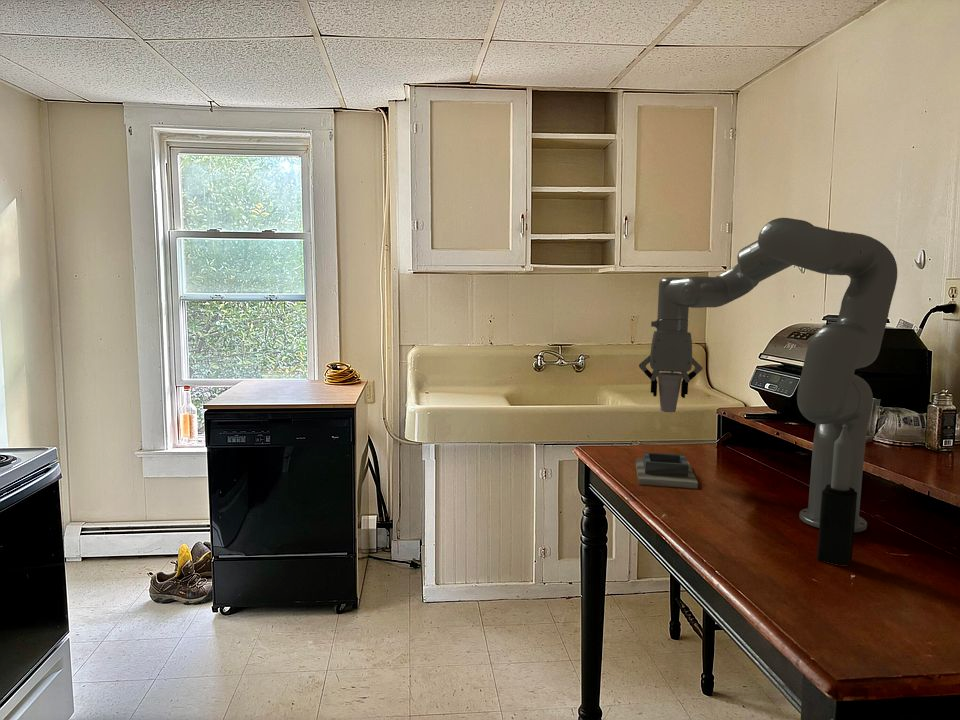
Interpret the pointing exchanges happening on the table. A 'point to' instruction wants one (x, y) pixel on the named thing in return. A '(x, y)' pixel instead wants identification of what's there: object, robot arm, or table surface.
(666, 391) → the smoothie
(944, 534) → the table surface
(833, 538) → the dark tall narrow piece
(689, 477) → the holder
